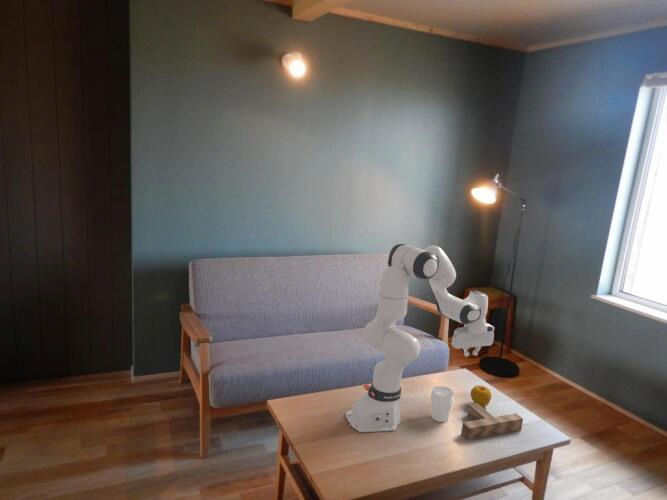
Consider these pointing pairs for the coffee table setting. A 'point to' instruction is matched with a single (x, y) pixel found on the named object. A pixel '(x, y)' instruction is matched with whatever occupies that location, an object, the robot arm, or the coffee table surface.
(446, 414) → the cup
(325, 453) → the coffee table surface
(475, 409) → the t block
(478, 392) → the apple
